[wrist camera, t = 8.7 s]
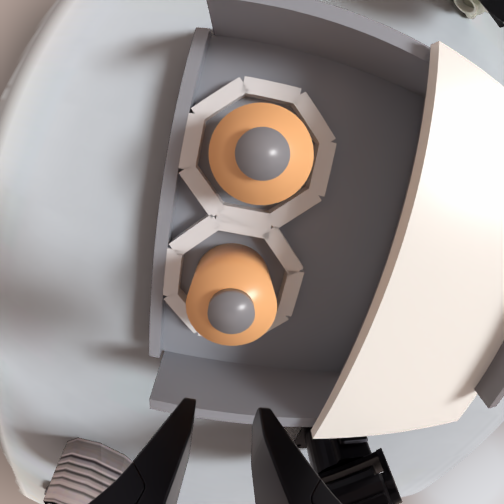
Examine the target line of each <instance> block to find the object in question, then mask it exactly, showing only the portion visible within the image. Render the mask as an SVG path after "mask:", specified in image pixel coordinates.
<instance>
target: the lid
mask: <svg viewBox="0 0 504 504" xmlns="http://www.w3.org/2000/svg"><path fill="white" fill-rule="evenodd" d="M477 394H478V395H479V396H480V398H481V399H482V400H483V402H484V403H485V404H486V405H487V407H488V408H492V407H495V406H497V404H498V403H499V402H500V400H501V399H502V397H503V396H504V87H503V86H502V85H501V84H500V83H498V82H497V81H496V80H495V79H494V78H492V77H491V76H490V75H488V74H487V73H486V72H485V71H483V70H482V69H480V68H479V67H478V66H476V65H475V64H474V63H472V62H471V61H469V60H468V59H466V58H465V57H464V56H462V55H461V54H459V53H458V52H456V51H455V50H453V49H451V48H450V47H448V46H447V45H445V44H443V43H442V42H440V41H438V42H436V43H434V44H431V48H430V62H429V73H428V83H427V91H426V99H425V106H424V113H423V119H422V125H421V131H420V137H419V142H418V147H417V152H416V157H415V162H414V166H413V171H412V175H411V179H410V184H409V188H408V192H407V196H406V199H405V203H404V207H403V211H402V214H401V218H400V221H399V225H398V228H397V231H396V235H395V238H394V241H393V244H392V247H391V251H390V254H389V257H388V260H387V263H386V266H385V268H384V271H383V274H382V277H381V280H380V283H379V285H378V288H377V291H376V293H375V296H374V299H373V301H372V304H371V306H370V309H369V311H368V314H367V316H366V319H365V321H364V323H363V326H362V328H361V331H360V333H359V335H358V338H357V340H356V342H355V344H354V347H353V349H352V351H351V353H350V355H349V358H348V360H347V362H346V364H345V366H344V368H343V370H342V372H341V374H340V376H339V378H338V380H337V382H336V384H335V386H334V388H333V390H332V392H331V394H330V396H329V398H328V400H327V402H326V404H325V406H324V407H323V409H322V411H321V413H320V415H319V417H318V418H317V420H316V422H315V424H314V425H313V427H312V429H311V433H312V438H313V439H328V438H348V437H361V436H372V435H381V434H389V433H397V432H404V431H410V430H416V429H421V428H427V427H432V426H437V425H441V424H446V423H450V422H454V421H458V419H459V418H460V417H461V416H462V414H463V413H464V412H465V410H466V409H467V408H468V406H469V405H470V404H471V402H472V401H473V400H474V398H475V397H476V395H477Z"/></svg>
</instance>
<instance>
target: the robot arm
mask: <svg viewBox="0 0 504 504" xmlns="http://www.w3.org/2000/svg"><path fill="white" fill-rule="evenodd" d="M195 408H196V399H193V398H187V397H185V398H183V399H182V401H181V402H180V403H179V405H178V406H177V407H176V408H175V410H174V411H173V412H172V413H171V415H170V416H169V417H168V418H167V420H166V421H165V422H164V423H163V425H162V426H161V427H160V428H159V430H158V431H157V432H156V433H155V435H154V436H153V437H152V438H151V440H150V441H149V442H148V443H147V445H146V446H145V447H144V448H143V449H142V451H141V452H140V453H139V454H138V455H137V457H136V458H135V459H134V460H133V462H132V463H131V464H130V465H129V466H128V467H127V469H126V470H125V471H124V472H123V473H122V474H121V475H120V476H119V477H118V478H117V479H116V480H115V481H114V482H113V483H112V484H111V485H110V486H109V487H108V488H107V489H105V490H104V491H103V492H102V493H101V494H99V495H98V496H97V497H96V498H95V499H93V500H92V501H91V502H90V503H88V504H177V500H178V496H179V492H180V489H181V485H182V481H183V478H184V474H185V470H186V467H187V463H188V459H189V454H190V447H191V439H192V431H193V423H194V416H195ZM311 429H312V427H302V429H301V431H300V433H299V435H298V436H297V438H296V440H295V442H293V440H292V439H291V437H290V436H289V435H288V433H287V432H286V430H285V429H284V427H283V426H282V424H281V423H280V422H279V420H278V419H277V417H276V416H275V414H274V413H273V411H272V410H271V409H270V408H264V407H259V408H258V409H257V412H256V414H255V417H254V420H253V424H252V448H251V468H252V477H253V486H254V495H255V503H256V504H399V503H402V500H401V497H400V494H399V492H398V489H397V486H396V484H395V481H394V478H393V476H392V473H391V471H390V468H389V466H388V463H387V461H386V458H385V456H384V454H383V451H382V449H381V448H380V449H378V450H376V451H375V452H373V453H371V450H370V448H369V445H368V442H367V441H368V438H367V436H361V437H348V438H328V439H313V438H312V433H311ZM298 448H307V451H308V456H309V461H310V464H309V462H308V461H307V460H306V458H305V457H304V456H303V454H302V453H301V451H300V450H299V449H298ZM382 471H384V472H383V473H380V472H382ZM379 473H380V474H379Z"/></svg>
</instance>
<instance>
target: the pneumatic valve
mask: <svg viewBox="0 0 504 504" xmlns="http://www.w3.org/2000/svg"><path fill="white" fill-rule="evenodd" d="M454 3H455V5H456V6H457V7H458V8H459V9H460V10H461V11H462V12H463V13H465V14H466V16H467V17H468V18H470V19H474V18H475V17H476V16H477V15H480V14H482V13H484V12H487V13H489V14H490V15H491V16H492V18H493V19H494V20H495V22H496V23H497V24H498V26H499V27H504V0H454Z"/></svg>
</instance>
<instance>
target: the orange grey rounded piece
mask: <svg viewBox="0 0 504 504" xmlns="http://www.w3.org/2000/svg"><path fill="white" fill-rule="evenodd" d="M276 312H277V300H276V296H275V292H274V289H273V285H272V281H271V278H270V274H269V271H268V267H267V265H266V263H265V261H264V259H263V258H262V257H261V256H260V254H258V253H257V252H256V251H255V250H253V249H252V248H250V247H248V246H245V245H242V244H237V243H227V244H222V245H218V246H216V247H214V248H212V249H210V250H209V251H208V252H206V253H205V254H204V255H203V257H202V258H201V259H200V261H199V263H198V265H197V268H196V271H195V274H194V277H193V279H192V282H191V285H190V289H189V292H188V295H187V298H186V313H187V316H188V319H189V321H190V323H191V325H192V326H193V328H194V329H195V330H196V331H197V332H198V333H199V334H200V335H201V336H203V337H204V338H206V339H207V340H209V341H211V342H214V343H217V344H220V345H226V346H238V345H243V344H247V343H250V342H253V341H255V340H256V339H258V338H260V337H261V336H262V335H264V334H265V333H266V332H267V331H268V329H269V328H270V327H271V325H272V324H273V322H274V320H275V317H276Z"/></svg>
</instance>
